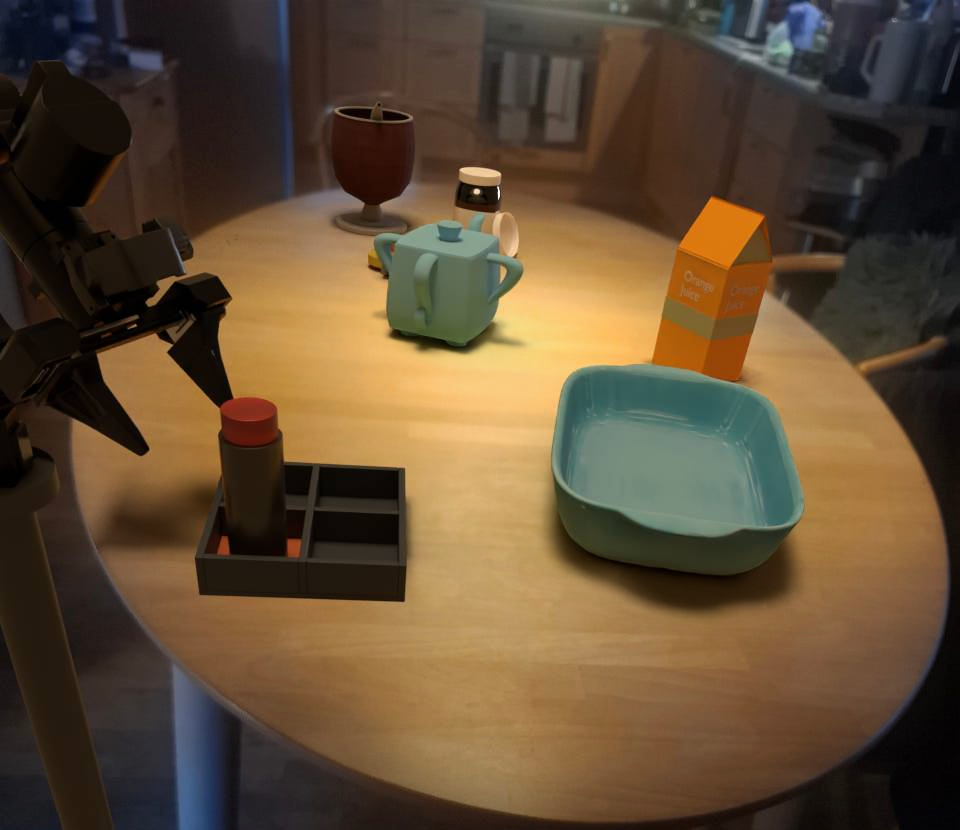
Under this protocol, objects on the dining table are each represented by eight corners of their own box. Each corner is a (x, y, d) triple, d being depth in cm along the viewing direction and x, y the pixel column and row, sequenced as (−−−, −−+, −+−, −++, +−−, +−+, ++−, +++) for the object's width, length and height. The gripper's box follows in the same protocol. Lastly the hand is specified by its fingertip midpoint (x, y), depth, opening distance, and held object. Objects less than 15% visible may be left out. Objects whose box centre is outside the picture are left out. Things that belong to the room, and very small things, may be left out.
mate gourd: (329, 212, 159) (328, 82, 147) (406, 217, 162) (411, 90, 150) (334, 237, 148) (333, 98, 135) (417, 241, 150) (424, 105, 138)
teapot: (522, 351, 115) (536, 242, 107) (400, 356, 110) (405, 241, 101) (475, 304, 128) (484, 203, 120) (364, 306, 123) (365, 200, 114)
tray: (199, 595, 68) (194, 557, 66) (229, 493, 81) (225, 458, 78) (404, 602, 70) (406, 565, 68) (403, 501, 82) (405, 467, 80)
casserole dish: (558, 406, 103) (567, 345, 98) (751, 434, 102) (769, 374, 97) (529, 583, 74) (540, 509, 69) (798, 625, 73) (827, 552, 68)
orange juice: (697, 388, 111) (742, 216, 99) (650, 362, 116) (687, 196, 104) (740, 379, 115) (788, 213, 102) (692, 354, 120) (733, 194, 108)
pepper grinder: (221, 551, 72) (206, 400, 64) (275, 539, 74) (267, 391, 66) (241, 581, 69) (228, 426, 61) (297, 568, 71) (291, 417, 63)
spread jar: (453, 237, 155) (458, 162, 147) (517, 244, 155) (526, 170, 148) (448, 256, 145) (454, 178, 138) (517, 264, 146) (526, 186, 138)
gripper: (-21, 197, 52) (144, 426, 56) (202, 158, 66) (325, 344, 69) (-72, 299, 60) (76, 495, 63) (138, 246, 73) (251, 410, 76)
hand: (190, 431), depth 68 cm, fingers open, 9 cm apart
